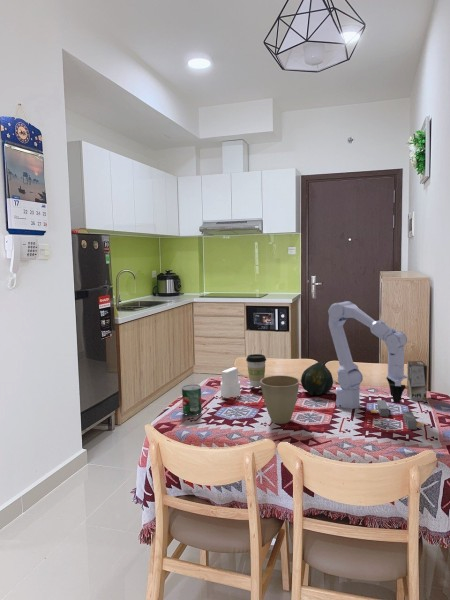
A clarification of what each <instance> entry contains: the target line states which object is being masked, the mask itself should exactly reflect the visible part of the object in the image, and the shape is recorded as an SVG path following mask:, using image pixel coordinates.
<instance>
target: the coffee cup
mask: <svg viewBox="0 0 450 600" xmlns="http://www.w3.org/2000/svg"><path fill="white" fill-rule="evenodd" d="M245 361H246V363H247V372H248V378H249V384H250V387H251V386H253V387H259V386H261V382H260V381H261V379H263V378H265V374H266V361H267V357H266V355H265V354H259V353H257V354H256V353H255V354H254V353H253V354H248V355H247V356H246V359H245Z"/></svg>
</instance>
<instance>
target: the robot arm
mask: <svg viewBox="0 0 450 600" xmlns="http://www.w3.org/2000/svg"><path fill="white" fill-rule="evenodd" d="M327 314H328V328H329V331H330V335H331V339H332V342H333V346H334V349H335V353H336V357H337V359H338V364H339V367H338V369H337V383H338V385H339V386H336V388H335V389H336V400H335V405H336V408H338V409H339V408H344V409H352V410H353V409H357V408H360V402H361V401H360V398H361V397H360V387H361V383H362V382H363V379H364V376H363V373H362V372H361V371H360V369H359V366H358V365H357V364H356V363H354V360H353V357H352V354H351V349H350V347H349V342H348V339H347V336H346V332H345V329H344V325H345V323H346V321H347V320H348V319H349V318H351V319H355V320H357V321H358V322H359V323H361V324H363V325H364V326H367V327H368V328H370V333H371V334H372V335H374V336H376V337H377V338H379V339H380V340H382V341H383V342H384V344H385V346H386V348H387V374H386V378H385V379H386V381H387V382H388V386H389V393H390V395H391V397H392V400H393V403H394V404H395V403H396V404H400V403H401V400H402V396H403V392H404V391H405V389H406V388H407V386H406V385H405V384H402V382H403V380H404V379H407V374H405V367H404V366H405V346H406V344H407V342H408V337H407V335H406V334H405V333H404V331H401V330H400V331H399V330H397V329H396V328H392V327H391V326H389V325H388V324H386V322H385V321H384V320H375V319H374V318H372V317H371V316H369V315H368V314H367V313H366V312H365V311H363V310H361V309H360V308H359V307H358V306H357V304H355V303H353V302H351V301H349V300H346V301H342V302H334V303H332V304H331V305H330V307H329V309H328V310H327Z"/></svg>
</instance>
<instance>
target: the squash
mask: <svg viewBox="0 0 450 600" xmlns="http://www.w3.org/2000/svg"><path fill="white" fill-rule="evenodd" d="M300 384H301V387H302V388H303V390H305V392H306V393H307V394H308V395H311V396H313V395H317V396H319V395H321V394H327V393H328V392H330V390H331V389H332V388H333V384H334V380H333V375H332V373H331V371H330V369H329V368H328V367H327V366H326V365H325V363H324V362H323V361H318V362H315V363H314V364H311V365H310V366H309V367H307V368H306V369H305V370H304V371H303V372H302V374H301V377H300Z"/></svg>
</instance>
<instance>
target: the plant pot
mask: <svg viewBox="0 0 450 600" xmlns="http://www.w3.org/2000/svg"><path fill="white" fill-rule="evenodd" d="M260 382H261V393H262V396H263V401H264V404H265V407H266V410H267V413H268V415H269V419H270V420H271V422H272V423H274V424H279V425H284V424H288V423H289V422H291V420H292V417H293V414H294V412H295V408H296V404H297V401H298V400H297V399H298V395H299V386H300V379H299V378H297V377H295V376H290V375H281V374H279V375H270V376H266V377H265V376H264V378H263V379H261V381H260Z"/></svg>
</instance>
